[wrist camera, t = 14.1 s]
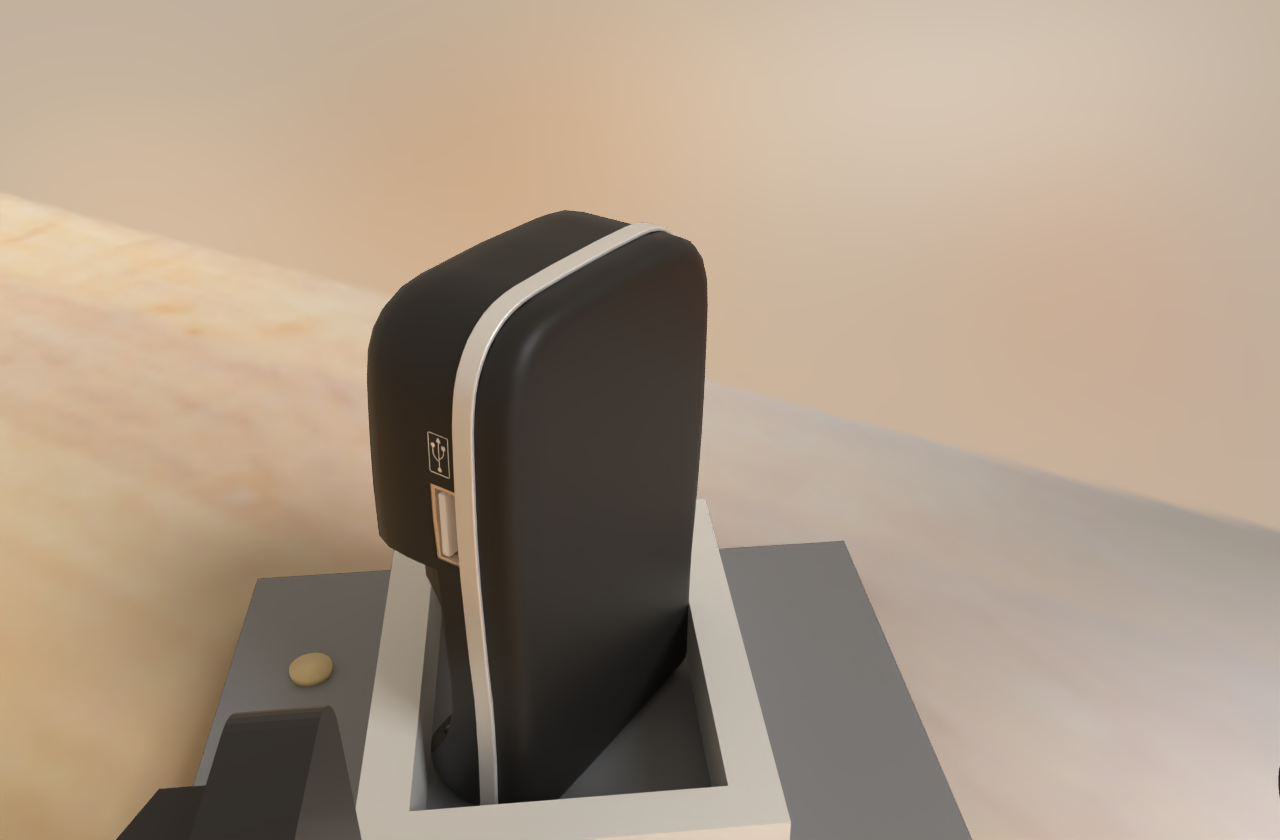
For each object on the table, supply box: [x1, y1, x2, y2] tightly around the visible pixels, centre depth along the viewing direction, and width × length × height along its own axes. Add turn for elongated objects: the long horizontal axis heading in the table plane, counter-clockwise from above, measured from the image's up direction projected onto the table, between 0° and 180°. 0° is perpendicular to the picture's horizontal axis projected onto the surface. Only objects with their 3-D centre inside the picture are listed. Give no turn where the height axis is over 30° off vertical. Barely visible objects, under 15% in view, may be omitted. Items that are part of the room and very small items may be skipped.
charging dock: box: [193, 499, 972, 840], centre depth 27 cm, size 16×12×3 cm
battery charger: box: [367, 210, 708, 806], centre depth 24 cm, size 7×4×11 cm, turn 147°
